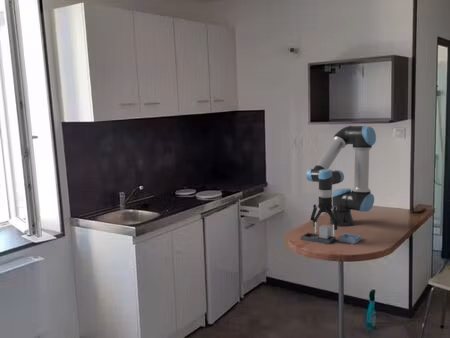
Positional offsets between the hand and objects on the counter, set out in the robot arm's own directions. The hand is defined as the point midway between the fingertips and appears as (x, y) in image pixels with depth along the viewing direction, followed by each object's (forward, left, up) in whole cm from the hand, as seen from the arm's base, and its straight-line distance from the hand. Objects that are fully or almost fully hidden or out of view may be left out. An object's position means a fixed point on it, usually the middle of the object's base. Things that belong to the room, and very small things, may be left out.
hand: (325, 233), depth 263 cm
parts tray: (-9, +12, -4) cm, 15 cm away
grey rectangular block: (0, 0, -4) cm, 4 cm away
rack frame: (0, -4, -4) cm, 6 cm away
